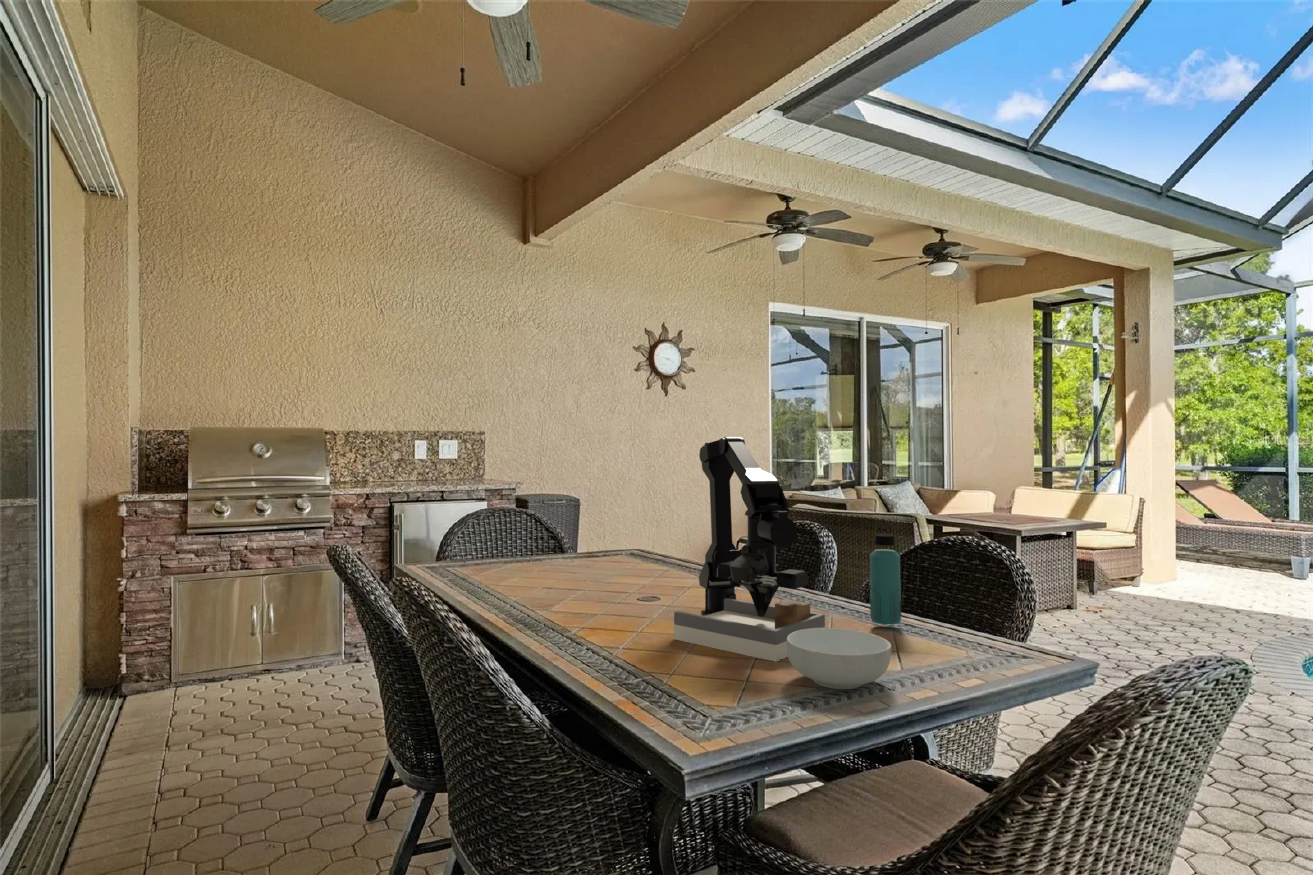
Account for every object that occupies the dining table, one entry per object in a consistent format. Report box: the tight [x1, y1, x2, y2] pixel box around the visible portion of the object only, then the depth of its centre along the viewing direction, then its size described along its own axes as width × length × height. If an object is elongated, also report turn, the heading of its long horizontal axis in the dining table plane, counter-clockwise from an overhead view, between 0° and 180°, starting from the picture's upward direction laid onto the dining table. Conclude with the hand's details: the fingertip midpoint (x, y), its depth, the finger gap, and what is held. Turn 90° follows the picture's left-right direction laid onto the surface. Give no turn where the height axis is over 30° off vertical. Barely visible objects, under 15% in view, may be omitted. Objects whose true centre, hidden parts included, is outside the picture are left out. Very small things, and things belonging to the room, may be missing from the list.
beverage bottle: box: [869, 533, 903, 625], centre depth 164 cm, size 6×7×20 cm
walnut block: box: [774, 599, 811, 629], centre depth 151 cm, size 5×5×5 cm
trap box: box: [673, 598, 826, 662], centre depth 153 cm, size 24×18×6 cm
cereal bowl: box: [786, 627, 892, 690], centre depth 127 cm, size 17×17×7 cm
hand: (761, 616), depth 156 cm, fingers closed
